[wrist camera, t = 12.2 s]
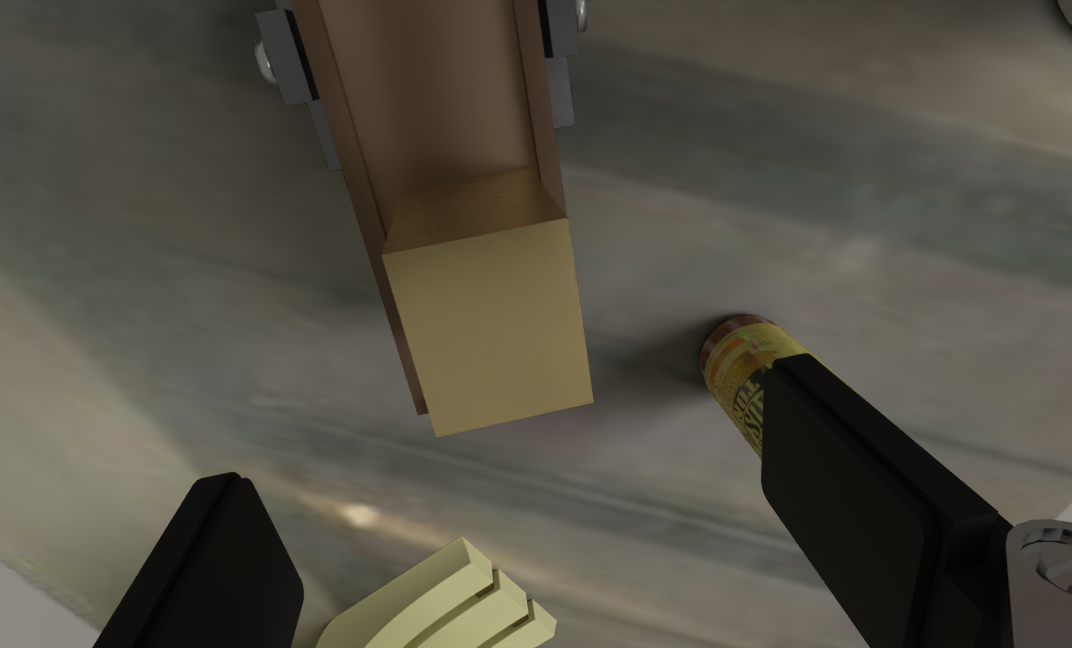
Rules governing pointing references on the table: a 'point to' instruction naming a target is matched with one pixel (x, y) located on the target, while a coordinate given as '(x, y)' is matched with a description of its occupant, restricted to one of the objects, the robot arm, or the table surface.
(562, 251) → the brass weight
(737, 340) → the sauce bottle
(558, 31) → the beam stand
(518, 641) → the slatted curved stool
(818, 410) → the robot arm
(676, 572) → the table surface
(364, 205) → the brown long channel
